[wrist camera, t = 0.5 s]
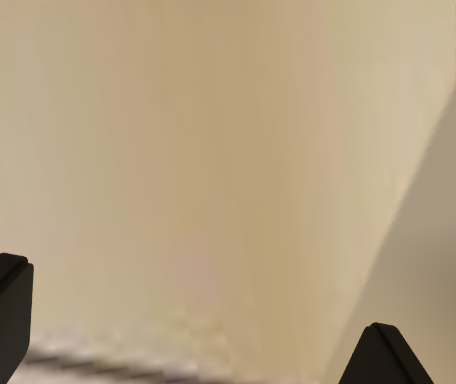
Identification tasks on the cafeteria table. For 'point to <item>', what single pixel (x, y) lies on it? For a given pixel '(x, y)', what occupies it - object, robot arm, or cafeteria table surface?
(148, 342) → the cafeteria table surface
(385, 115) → the cafeteria table surface
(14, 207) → the cafeteria table surface
